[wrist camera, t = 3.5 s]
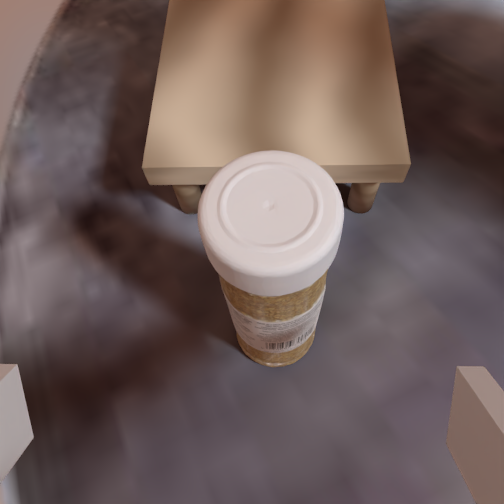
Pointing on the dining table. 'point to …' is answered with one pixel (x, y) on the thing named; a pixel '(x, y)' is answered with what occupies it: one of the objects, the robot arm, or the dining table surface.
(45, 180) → the dining table surface
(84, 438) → the dining table surface
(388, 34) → the stool
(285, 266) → the spice jar
